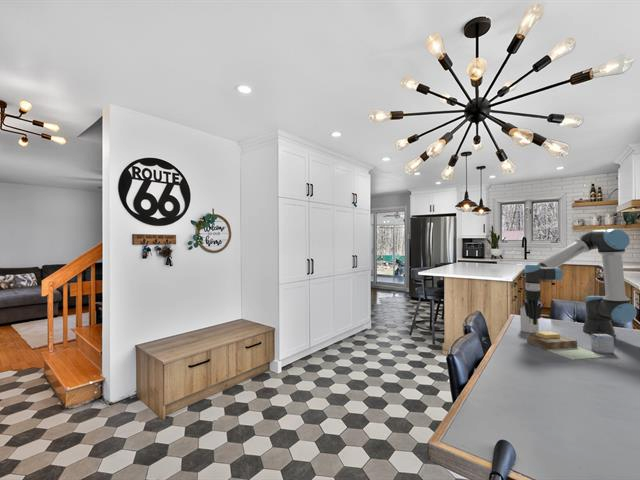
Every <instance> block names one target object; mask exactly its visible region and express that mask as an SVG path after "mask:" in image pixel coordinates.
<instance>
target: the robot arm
mask: <svg viewBox="0 0 640 480" xmlns="http://www.w3.org/2000/svg"><path fill="white" fill-rule="evenodd" d="M630 242H631V240H630V237H629V234H628V233H627V232H626V231H624V230H622V229H618V228H608V229H607V228H605V229H593V230H591V231H589V232H588V231H587V233H585V234H582V235H580V236H579V237H577V238H576V239H574V240H573V242H572V243H571V244H569V245H567V246H566V247H564V248H562V249H560V250H559V251H557V252H556V253H554V254H552V255H550V256H549V257H547V258H546V259H544V260H542V261H540V262H539V263H536V264H535V263H527V264H525V266H524V281H525V283H524V284H525V285H524V286H525V291H524V292H525V293H524V294H525V295H524V296H525V297H526V298H525V299H523V300H522V302H523V305H524V306H525V311H526V316H528V317H529V318H530V329H531V330H536V325H537V319H538V320H540V319H541V317H542V311H543V307H544V306H545V305H544V303H542V302H541V300H540V298H541V281H560V280H562V278H563V277H564V274H563V273H564V272H563V270H562V269H561V268H560V267H561V266H562V265H564V264H565V263H567V262H569V261H570V260H572V259H574V258H575V257H578V256H579V255H581V254H583V253H588V252H590V251H592V250H597V253H598V254H599V255H601V257H602V258H601V259H602V271H603V281H604V289H605V291H604V293H605V295H602V296H601V295H587V296H586V297H585V316H586V317H585V320H584V323H583V326H582V332H583V333H587V334H590V335H591V334H608V335H611V336H613V337H614V336H615V335H616V331H615V329H614V327H613V324H612V321H613V322H615V323H620V324H621V323H622V324H627V323H631V322H632V321H633V320H635V318H636V317H637V314H638V310H637V308H636V307H635V306H634V305H633V304H631V299H630V298H629V297H628V296H627V294H626V287H625V286H626V283H625V274H624V273H625V272H624V264H623V254H624V253H625V252H626V248H628V246H629V245H630Z"/></svg>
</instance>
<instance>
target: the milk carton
mask: <svg viewBox="0 0 640 480" xmlns="http://www.w3.org/2000/svg"><path fill="white" fill-rule="evenodd" d="M519 309H520V312H519V315H520V320H519V321H520V331H521V332H525V333H530V334H537V332H540V331H539V324H540V323H539V319H537V325H536V330H531V329H530V318H529V317H528V316H526V311H525V306H524V304H523V305H522V306H521V307H519Z"/></svg>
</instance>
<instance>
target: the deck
mask: <svg viewBox="0 0 640 480" xmlns="http://www.w3.org/2000/svg"><path fill="white" fill-rule="evenodd" d="M526 342H527V343H529V344H531V345H534V346H536V347H539V348H542V349H545V350H546V351H547V350H550V349H563V348H576V347H578V340H577V339H573V338H570V337H567V336H564V335H561V334H560V338H549V339H545V338H542V337H539V336H537V333H534V334H527V335H526Z"/></svg>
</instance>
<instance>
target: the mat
mask: <svg viewBox="0 0 640 480" xmlns="http://www.w3.org/2000/svg"><path fill="white" fill-rule="evenodd" d="M546 351H547V352H550V353H553V354H555V355H558V356H561V357H563V358H565V359H568V360H571V361H576V360H588V359H601V358H602V359H603V358H607V356H606V355H603V354H601V353H597V352H595V351H592V350H588V349H585V348H582V347H579V346H577V347H576V348H563V349H550V350H547V349H546Z"/></svg>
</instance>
